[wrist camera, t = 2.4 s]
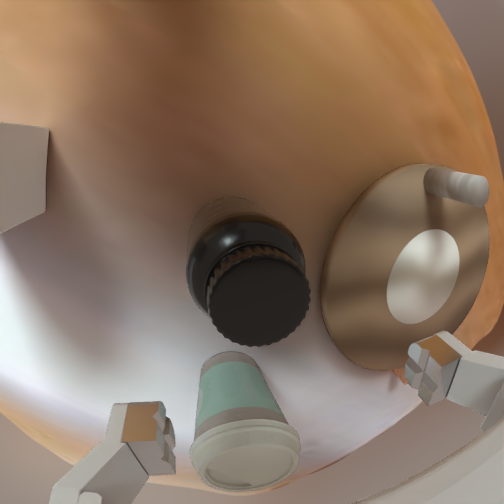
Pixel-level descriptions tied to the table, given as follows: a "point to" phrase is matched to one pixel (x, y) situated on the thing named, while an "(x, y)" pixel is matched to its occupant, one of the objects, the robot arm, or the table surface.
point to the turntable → (405, 263)
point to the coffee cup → (240, 428)
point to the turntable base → (401, 374)
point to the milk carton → (22, 173)
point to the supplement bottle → (246, 272)
